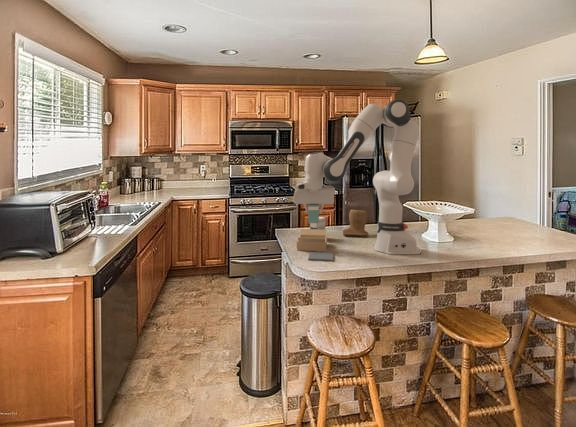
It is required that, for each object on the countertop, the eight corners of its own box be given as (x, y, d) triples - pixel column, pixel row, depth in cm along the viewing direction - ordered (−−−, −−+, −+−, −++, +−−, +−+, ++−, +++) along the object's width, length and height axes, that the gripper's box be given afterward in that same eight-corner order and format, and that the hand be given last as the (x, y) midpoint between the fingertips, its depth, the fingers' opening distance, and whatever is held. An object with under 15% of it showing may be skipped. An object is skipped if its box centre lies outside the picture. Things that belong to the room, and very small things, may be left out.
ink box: (318, 236, 219) (318, 216, 217) (325, 238, 216) (326, 217, 214) (309, 239, 212) (309, 218, 210) (316, 241, 209) (317, 219, 207)
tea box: (318, 220, 197) (319, 203, 196) (318, 223, 191) (318, 205, 190) (308, 220, 198) (308, 203, 196) (308, 223, 192) (308, 205, 190)
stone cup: (366, 233, 230) (367, 208, 227) (369, 237, 218) (370, 211, 216) (340, 232, 231) (341, 207, 228) (342, 237, 219) (343, 211, 216)
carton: (326, 242, 205) (327, 229, 204) (326, 252, 186) (326, 238, 185) (299, 241, 207) (299, 228, 206) (296, 251, 188) (296, 237, 187)
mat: (333, 254, 183) (333, 252, 183) (333, 261, 172) (333, 259, 172) (309, 253, 184) (309, 251, 184) (308, 260, 174) (308, 258, 174)
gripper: (335, 184, 193) (334, 212, 196) (294, 184, 195) (294, 211, 198) (335, 186, 187) (334, 214, 189) (292, 185, 189) (292, 213, 192)
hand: (313, 212), depth 194 cm, fingers closed on tea box, 5 cm apart
